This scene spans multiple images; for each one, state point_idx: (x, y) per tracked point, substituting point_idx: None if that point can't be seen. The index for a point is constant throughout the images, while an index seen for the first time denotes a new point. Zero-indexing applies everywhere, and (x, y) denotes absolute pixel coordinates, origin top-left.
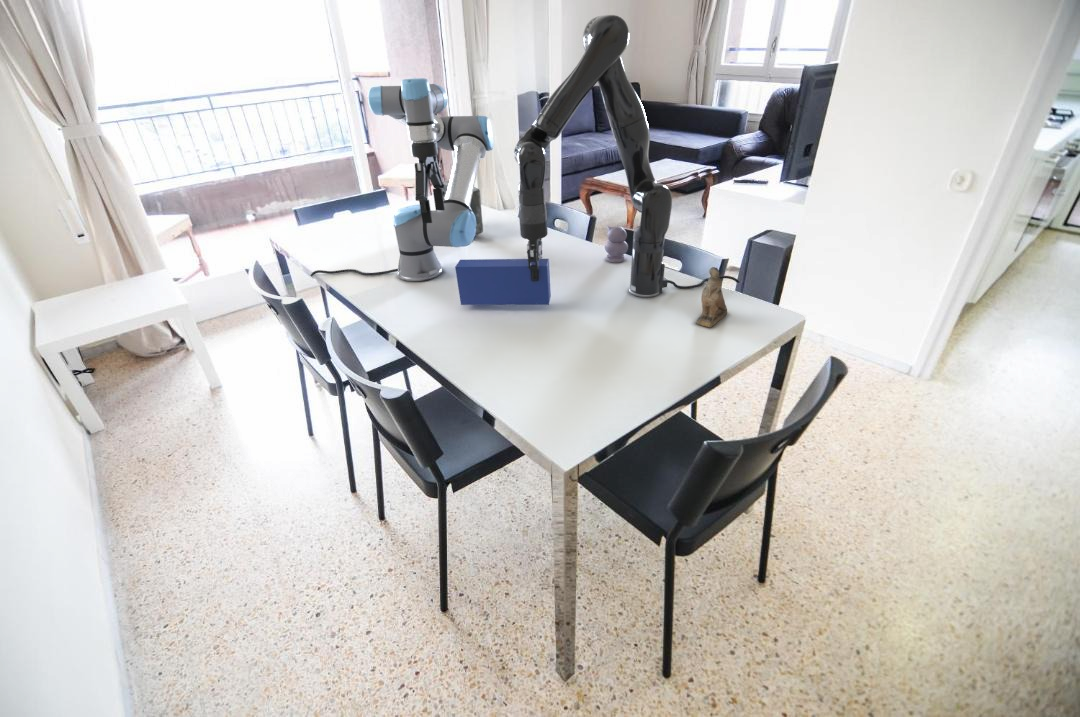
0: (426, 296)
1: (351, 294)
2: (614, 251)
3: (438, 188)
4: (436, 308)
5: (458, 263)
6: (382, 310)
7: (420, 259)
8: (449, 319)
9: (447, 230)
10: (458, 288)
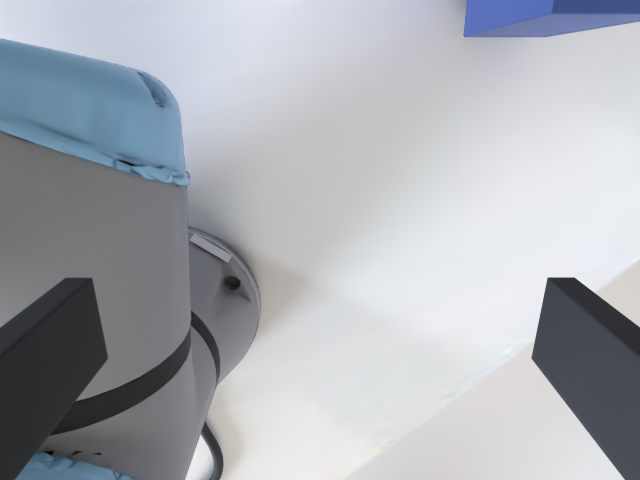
0: (390, 218)
1: (368, 449)
2: None
3: None
4: (500, 150)
5: (625, 5)
6: (495, 326)
7: (212, 315)
8: (605, 71)
9: (170, 206)
10: (590, 29)
